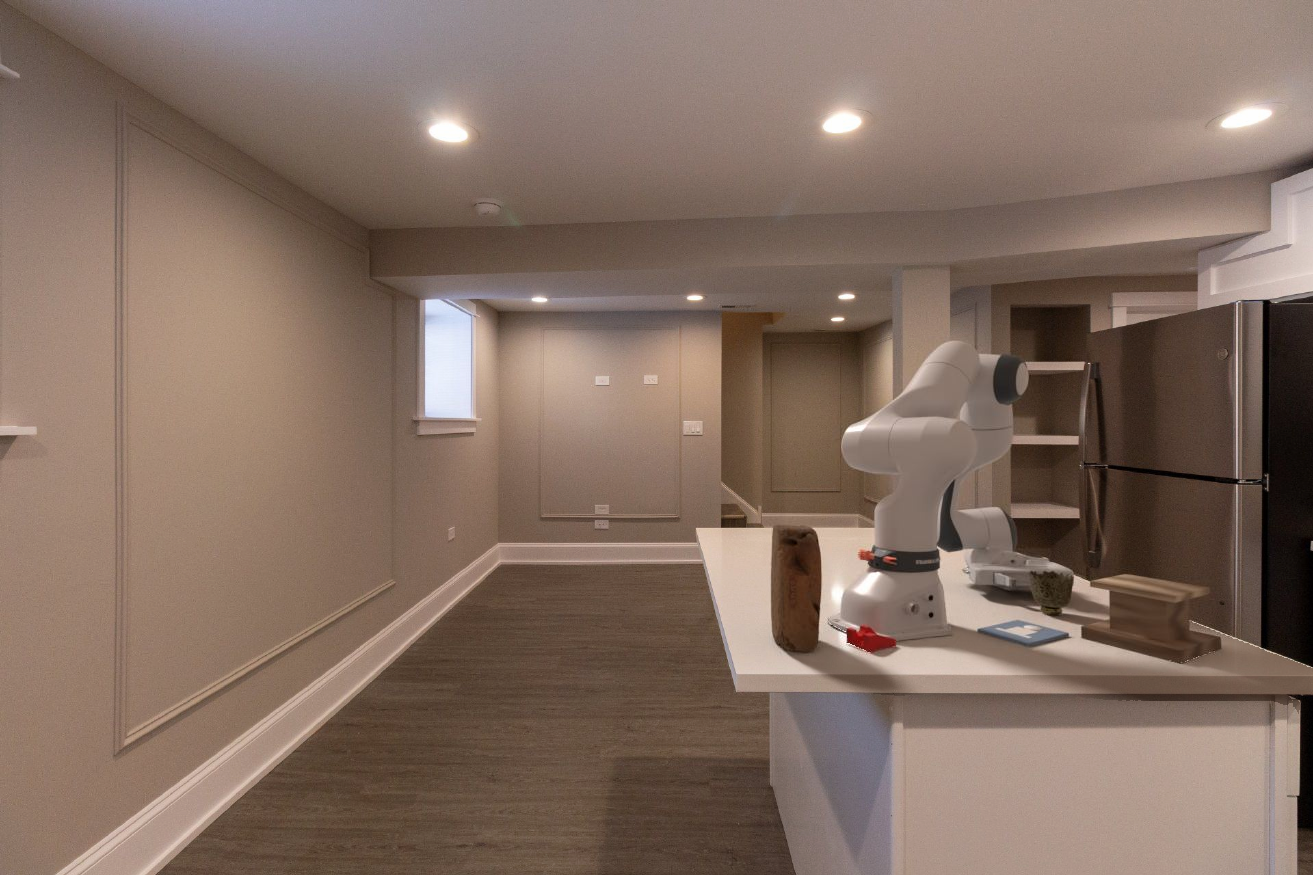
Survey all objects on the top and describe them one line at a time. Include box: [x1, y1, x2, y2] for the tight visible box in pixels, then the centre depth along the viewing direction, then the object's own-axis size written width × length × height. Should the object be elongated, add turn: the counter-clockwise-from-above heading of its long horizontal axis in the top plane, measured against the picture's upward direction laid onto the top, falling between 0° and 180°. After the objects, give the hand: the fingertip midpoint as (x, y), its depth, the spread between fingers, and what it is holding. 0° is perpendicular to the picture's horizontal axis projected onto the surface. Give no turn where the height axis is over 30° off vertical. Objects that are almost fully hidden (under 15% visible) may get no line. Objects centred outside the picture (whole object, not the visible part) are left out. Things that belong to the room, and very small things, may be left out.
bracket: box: [846, 625, 897, 653], centre depth 101 cm, size 6×5×3 cm
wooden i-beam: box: [1080, 573, 1222, 664], centre depth 101 cm, size 14×14×10 cm
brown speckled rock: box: [770, 524, 823, 653], centre depth 102 cm, size 11×8×20 cm
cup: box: [1029, 570, 1075, 617], centre depth 119 cm, size 8×7×8 cm
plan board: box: [977, 619, 1070, 648], centre depth 106 cm, size 12×9×1 cm
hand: (1036, 583), depth 124 cm, fingers open, 8 cm apart
